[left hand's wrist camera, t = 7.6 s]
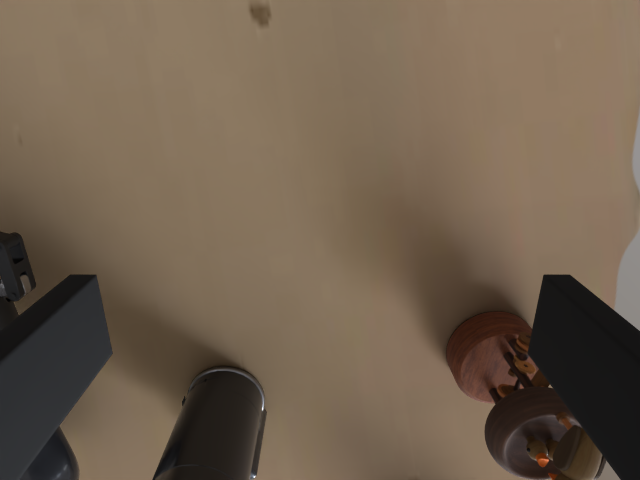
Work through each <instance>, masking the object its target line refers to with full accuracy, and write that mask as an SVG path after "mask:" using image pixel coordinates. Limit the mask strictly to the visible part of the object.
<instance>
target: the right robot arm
mask: <svg viewBox="0 0 640 480" xmlns="http://www.w3.org/2000/svg"><path fill="white" fill-rule="evenodd" d="M0 276H1V279H0V331H1V330H2V329H4V328H5V327H6V326H7V325H9V324H10V323H11V322H12V321H13V320H15V319H16V318H17V317H18V316H19V315H18V313H17V310H16V308H15V305H14V303H13V301H18V300H19V299H21V298H22V297H23V296H25V295H26V294H28V293H29V292H30V291H32V290H33V289H34V288H35V287H36V283H35V279H34V276H33V273H32V269H31V266H30V263H29V259H28V256H27V253H26V249H25V246H24V243H23V239H22V237H21V235H19V234H18V233H11V234H8V233H3V232H0ZM264 400H265V398H264V392H263V389H262V387H261V385H260V384H259V382H258V381H257V380H256V379H255V378H254V377H253V376H252V375H250V374H249V373H247V372H245V371H243V370H241V369H238V368H235V367H228V366H219V367H214V368H210V369H207V370H205V371H203V372H202V373H200V374H199V375H198V376H197V377H196V378H195V379H194V380H193V382H192V383H191V386H190V388H189V391H188V395H187V397H186V400H185V396H184V399H183V401H182V406H183V407H182V409H181V412H180V414H179V416H178V419H177V421H176V424H175V426H174V429H173V431H172V433H171V436H170V438H169V441H168V443H167V446H166V448H165V450H164V453H163V455H162V458H161V460H160V463H159V465H158V467H157V470H156V472H155V475H154V477H153V479H152V480H252V479H254V478H255V477H256V475H257V471H258V464H259V458H260V452H261V445H262V439H263V433H264V426H265V420H266V414H267V412H266V410H265V409H264ZM19 480H79V466H78V462H77V460H76V457H75V455H74V453H73V451H72V449H71V447H70V445H69V443H68V441H67V439H66V437H65V436H64V434H63V432H62V430H61V428H60V426H59V427H58V428H57V429H56V431H55V432H54V433H53V435H52V436H51V437H50V439H49V440H48V441H47V443H46V444H45V446H44V447H43V448H42V450H41V451H40V452H39V454H38V455H37V456H36V458H35V459H34V460H33V462H32V463H31V464H30V466H29V467H28V468H27V470H26V471H25V473H24V474H23V475H22V477H21V478H20V479H19Z"/></svg>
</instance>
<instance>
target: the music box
mask: <svg viewBox="0 0 640 480" xmlns="http://www.w3.org/2000/svg"><path fill="white" fill-rule="evenodd" d="M531 333H532V329H531V327H530V326H529V325H528V324H527V323H526V322H525V321H524V320H523V319H521V318H520V317H518V316H516V315H513V314H510V313H506V312H487V313H483V314H479V315H477V316H474V317H472V318H470V319H468V320H467V321H465V322H464V323H463V324H461V325H460V326H459V327H458V328H457V329H456V330H455V332H454V333H453V335H452V336H451V338H450V340H449V342H448V346H447V351H446V356H447V362H448V365H449V367H450V369H451V372H452V374H453V376H454V378H455V381H456V383H457V385H458V386H459V388H460V389H461V390H462V391H463V392H464V393H465V394H466V395H467V396H469V397H471V398H473V399H475V400H477V401H481V402H485V403H495V404H496V405H495V406H494V407H493V408H492V410H491V411H490V413H489V415H488V418H487V420H486V424H485V440H486V444H487V447H488V450H489V452H490V454H491V455H492V457H493V458H494V460H495V461H496V462H497V463H498V464H499V465H500V466H501V467H502V468H503V469H505V470H506V471H508V472H509V473H511V474H513V475H516V476H518V477H521V478H525V479H531V480H545V479H552V480H595V479H598V478H599V477H600V475H601V473H602V471H603V468H604V466H605V463H606V459H605V458H604V456H603V455H602V454H601V452H600V451H599V450H598V448H597V447H596V446H595V444H594V443H593V441H592V440H591V439H590V437H589V436H588V435H587V433H586V432H585V431H584V429H583V428H582V427H581V425H580V424H579V423H578V421H577V420H576V418H575V417H574V416H573V414H572V413H571V412H570V410H569V409H568V408H567V406H566V405H565V404H564V402H563V401H562V400H561V398H560V397H559V396H558V394H557V393H556V391H555V390H554V389H553V388H548V386H549V385H550V383H549V382H548V381H547V379H546V378H545V377H544V375H543V374H542V373H541V371H540V370H539V368H538V367H537V366H536V364H535V363H534V362H533V360H532V359H531V358H530V356H529V355H528V354H527V353H528V348H529V343H530V338H531Z"/></svg>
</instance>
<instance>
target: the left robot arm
mask: <svg viewBox="0 0 640 480" xmlns="http://www.w3.org/2000/svg"><path fill="white" fill-rule="evenodd" d="M112 354H113V353H112V348H111V343H110V338H109V333H108V329H107V324H106V319H105V314H104V309H103V304H102V300H101V295H100V290H99V285H98V280H97V275H69V276H68V277H67V278H66V279H64V280H63V281H62V282H61V283H59V284H58V285H57V286H56V287H54V288H53V289H52V290H51V291H49V292H48V293H47V294H46V295H44V296H43V297H42V298H41V299H40V300H38V301H37V302H36V303H35V304H33V305H32V306H31V307H30V308H28V309H27V310H26V311H25V312H23V313H22V314H21V315H20V316H18V317H17V318H16V319H15V320H13V321H12V322H11V323H10V324H9V325H7V326H6V327H5V328H4V329H2V330H1V331H0V480H19V479H20V478H21V477H22V475H23V474H24V473H25V471H26V470H27V468H28V467H29V466H30V464H31V463H32V462H33V460H34V459H35V458H36V456H37V455H38V454H39V452H40V451H41V450H42V448H43V447H44V446H45V444H46V443H47V441H48V440H49V439H50V437H51V436H52V435H53V433H54V432H55V431H56V429H57V428H58V427H59V425H60V424H61V423H62V421H63V420H64V418H65V417H66V416H67V414H68V413H69V412H70V410H71V409H72V408H73V406H74V405H75V404H76V402H77V401H78V400H79V398H80V397H81V396H82V394H83V393H84V391H85V390H86V389H87V387H88V386H89V385H90V383H91V382H92V381H93V379H94V378H95V377H96V375H97V374H98V373H99V371H100V370H101V368H102V367H103V366H104V364H105V363H106V362H107V360H108V359H109V358H110V356H111V355H112ZM527 354H528V355H529V356H530V358H531V359H532V360H533V362H534V363H535V364H536V366H537V367H538V368H539V370H540V371H541V373H542V374H543V375H544V377H545V378H546V379H547V381H548V382H549V383H550V385H551V386H552V387H553V389H554V390H555V391H556V393H557V394H558V396H559V397H560V398H561V400H562V401H563V402H564V404H565V405H566V406H567V408H568V409H569V410H570V412H571V413H572V414H573V416H574V417H575V418H576V420H577V421H578V423H579V424H580V425H581V427H582V428H583V429H584V431H585V432H586V433H587V435H588V436H589V437H590V439H591V440H592V441H593V443H594V444H595V446H596V447H597V448H598V450H599V451H600V452H601V454H602V455H603V456H604V458H605V459H606V460H607V462H608V463H609V464H610V466H611V467H612V468H613V470H614V471H615V473H616V474H617V475H618V477H619V478H620V479H621V480H640V331H639V330H638V329H636V328H635V327H634V326H633V325H631V324H630V323H629V322H628V321H627V320H625V319H624V318H623V317H622V316H620V315H619V314H618V313H617V312H615V311H614V310H613V309H612V308H610V307H609V306H608V305H607V304H605V303H604V302H603V301H602V300H600V299H599V298H598V297H597V296H596V295H594V294H593V293H592V292H591V291H589V290H588V289H587V288H586V287H584V286H583V285H582V284H581V283H579V282H578V281H577V280H576V279H574V278H573V277H572V276H571V275H543V280H542V285H541V290H540V295H539V300H538V304H537V309H536V314H535V319H534V324H533V329H532V333H531V338H530V343H529V348H528V353H527Z"/></svg>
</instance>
